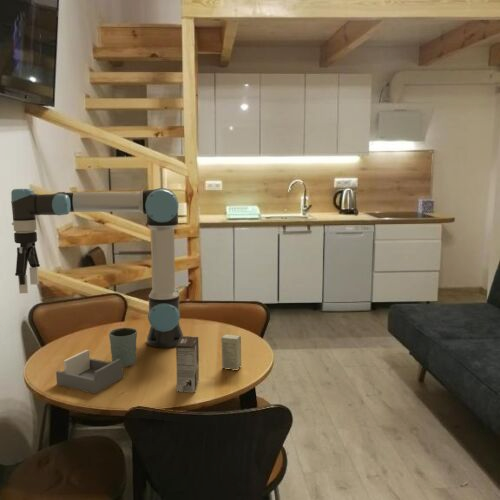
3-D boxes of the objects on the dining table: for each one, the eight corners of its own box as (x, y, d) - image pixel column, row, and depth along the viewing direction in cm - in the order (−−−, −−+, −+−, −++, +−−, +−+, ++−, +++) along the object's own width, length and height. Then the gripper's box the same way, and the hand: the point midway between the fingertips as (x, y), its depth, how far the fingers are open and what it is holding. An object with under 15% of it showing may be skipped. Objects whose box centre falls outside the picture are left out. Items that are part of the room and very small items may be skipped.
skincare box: (241, 367, 179) (241, 335, 177) (237, 371, 175) (237, 339, 172) (225, 364, 181) (225, 333, 179) (221, 369, 177) (221, 337, 175)
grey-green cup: (112, 369, 175) (110, 337, 173) (108, 359, 184) (107, 329, 182) (140, 365, 179) (139, 334, 177) (135, 355, 188) (134, 326, 187)
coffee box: (180, 380, 167) (180, 335, 164) (199, 380, 167) (199, 336, 164) (176, 392, 158) (175, 345, 155) (195, 392, 158) (195, 345, 155)
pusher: (63, 380, 163) (62, 360, 162) (87, 367, 173) (86, 349, 172) (66, 380, 162) (65, 361, 161) (89, 368, 173) (89, 350, 171)
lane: (56, 384, 163) (55, 364, 161) (86, 369, 175) (85, 350, 174) (95, 393, 156) (94, 373, 155) (123, 377, 169) (122, 358, 168)
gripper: (24, 227, 186) (28, 281, 190) (2, 236, 162) (7, 297, 166) (45, 227, 188) (48, 280, 191) (26, 236, 163) (30, 296, 167)
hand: (29, 288), depth 178 cm, fingers open, 13 cm apart
